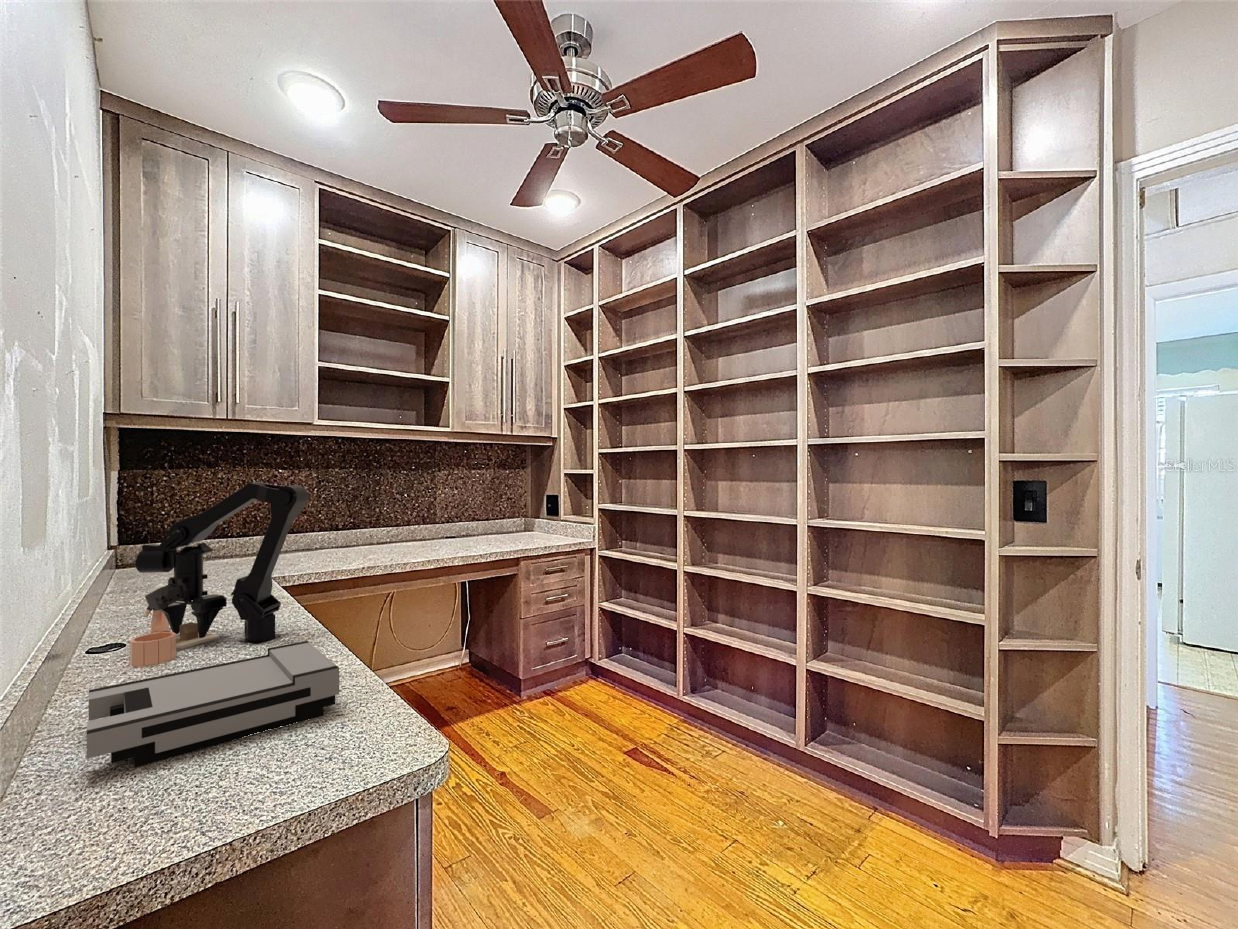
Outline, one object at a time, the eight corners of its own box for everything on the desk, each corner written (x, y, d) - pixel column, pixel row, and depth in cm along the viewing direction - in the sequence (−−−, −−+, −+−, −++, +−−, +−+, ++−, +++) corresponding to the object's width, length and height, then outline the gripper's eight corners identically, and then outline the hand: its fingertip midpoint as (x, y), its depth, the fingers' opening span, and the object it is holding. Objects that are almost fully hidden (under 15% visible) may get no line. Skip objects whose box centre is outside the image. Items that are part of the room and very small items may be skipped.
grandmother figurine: (156, 638, 143) (155, 587, 143) (141, 638, 143) (140, 587, 143) (180, 629, 151) (180, 581, 151) (166, 629, 151) (165, 581, 151)
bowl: (184, 658, 128) (184, 633, 128) (144, 670, 120) (144, 644, 120) (161, 654, 130) (161, 630, 130) (121, 666, 123) (121, 640, 123)
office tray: (89, 733, 93) (88, 682, 93) (307, 681, 114) (307, 640, 114) (86, 786, 77) (86, 725, 77) (339, 715, 99) (339, 667, 99)
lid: (220, 637, 142) (220, 621, 142) (181, 648, 133) (181, 631, 133) (195, 634, 145) (195, 618, 145) (156, 644, 136) (156, 627, 136)
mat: (230, 638, 142) (230, 636, 142) (179, 653, 131) (179, 651, 131) (197, 633, 147) (197, 631, 147) (145, 647, 135) (145, 646, 135)
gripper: (125, 575, 134) (126, 641, 134) (179, 580, 128) (179, 650, 128) (176, 567, 145) (176, 628, 145) (228, 571, 139) (228, 636, 139)
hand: (188, 635), depth 139 cm, fingers open, 9 cm apart
